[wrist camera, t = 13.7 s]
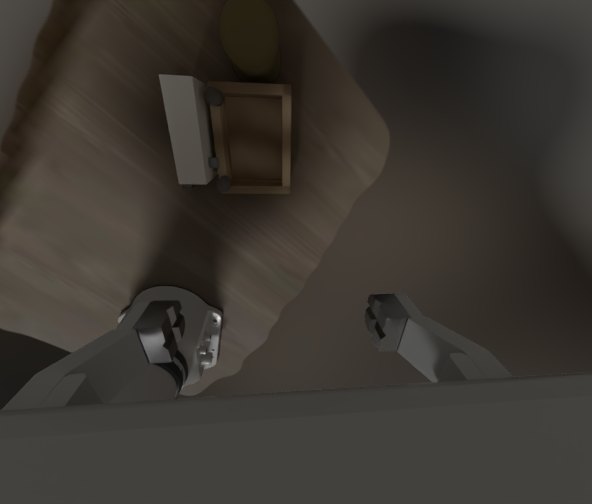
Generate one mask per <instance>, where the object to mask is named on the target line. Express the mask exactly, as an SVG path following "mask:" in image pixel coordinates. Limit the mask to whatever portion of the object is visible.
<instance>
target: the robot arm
mask: <svg viewBox="0 0 592 504" xmlns="http://www.w3.org/2000/svg"><path fill="white" fill-rule="evenodd" d="M368 304H369V307H368V308H367V309H366V312H365V323H366V326H367V329H368V331H370V332H371V333H372V334H373V337H372V340H373V342H374V344H375V346H376V348H377V350H378V351H398V353H399V354H401V355H402V356H403V357H404V358H405V359H407V360H408V361H409V362H410V363H411V364H412V365H413V366H414V367H416V368H417V369H418V370H419V371H420V372H421V373H423V374H424V375H425V376H426V377H427V378H429V379H430V380H431V381H432V382H429V383H414V384H398V385H382V386H367V387H352V388H336V389H321V390H306V391H291V392H276V393H260V394H246V395H245V394H244V395H229V396H214V397H199V398H184V399H178V398H175V397H176V396H177V395H178V393H179V392H180V390H181V389H182V388H183V386H187V385H190V384H193V383H195V382H197V381H198V380H199V379H200V378H201V376H202V373H203V370H204V369H207V368H210V367H212V366H214V365H216V363H217V360H218V353H219V344H220V335H221V326H222V316H223V314H222V312H221V311H220V310H218V309H216V308H214V307H211V306H209V305H207V304H206V303H205V302H204V301H203V300H202V299H201V298H199V297H198V296H197V295H195V294H193V293H192V292H190V291H187V290H185V289H182V288H178V287H173V286H157V287H152V288H149V289H147V290H144V291H143V292H141V293H140V294H139V295H137V297H136V298H135V299H134V301H133V303H132V305H131V306H130V308H129V309H127V310H125V311H124V312H122V313H121V314H120V316H119V318H118V322H119V325H118V326H117V328H116V330H111V331H109V332H108V333H106V334H104V335H103V336H101V337H99V338H97V339H96V340H94V341H92V342H91V343H89V344H87V345H85V346H84V347H82V348H80V349H78V350H77V351H75V352H73V353H72V354H70V355H68V356H66V357H65V358H63V359H61V360H60V361H58V362H56V363H54V364H53V365H51V366H49V367H48V368H46V369H44V370H42V371H41V372H39V373H37V374H35V375H34V377H32V378H31V380H30V381H29V382H28V383H27V384H26V385H25V386H24V387H23V388H22V389H21V390H20V391H19V392H18V393H17V394H16V395H15V396H14V397H13V398H12V399H11V401H10V402H9V403H8V404H7V405H6V406H5V407H4V408H3V409H2V410H0V504H592V372H583V373H567V374H552V375H537V376H521V377H513V376H512V375H511V374H510V373H509V372H508V371H507V370H506V369H505V368H504V367H503V366H502V365H501V364H500V363H499V362H498V361H497V359H496V358H495V357H494V356H493V355H492V354H491V353H490V352H489V351H488V350H486V349H484V348H483V347H481V346H479V345H477V344H475V343H474V342H472V341H470V340H468V339H466V338H464V337H462V336H460V335H459V334H457V333H455V332H453V331H451V330H450V329H448V328H446V327H444V326H442V325H440V324H438V323H437V322H435V321H433V320H431V319H429V318H428V317H423V316H422V314H421V313H420V312H419V311H418V309H417V308H416V307H415V306H414V304H413V303H412V302H411V300H410V299H409V298H408V297H407V295H406V294H404V293H392V294H371V295H370V296H369V297H368Z"/></svg>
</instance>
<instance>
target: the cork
mask: <svg viewBox="0 0 592 504" xmlns="http://www.w3.org/2000/svg"><path fill="white" fill-rule="evenodd" d="M219 33H220V39H221V43H222V45H223V47H224V50H225V52H226V54H227V55H228V56H229V58H230V59H231V60H232V66H233V68H234V70H235V73H236V75H237V76H238V77H239V79H240V80H241V81H242V82H243V83H266V84H271V83H272V82H273V81H274V80H275V79H276V77H277V75H278V73H279V71H280V66H281V55H280V50H279V47H278V44H279V26H278V23H277V20H276V17H275V14H274V12H273V11H272V9H271V7H270V6H269V4H268V3H267V2H266V1H265V0H228V1H227V2H226V3H225V4H224V7H223V9H222V12H221V14H220V22H219Z"/></svg>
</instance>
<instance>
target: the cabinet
mask: <svg viewBox="0 0 592 504" xmlns="http://www.w3.org/2000/svg"><path fill="white" fill-rule="evenodd" d="M207 86H208V88H207V89H206V90H205V92H204V97H205V100H206V101H207V102H208V103H209V104H210V111H211V119H212V127H213V135H214V144H215V152H216V157H218V159H219V168H217V169H218V177H219V179H218V180H217V182H216V188H217V189H218V190H219V191H220V194H290V163H291V92H292V85H289V84H266V83H243V82H219V81H207ZM195 185H197V184H183V188H193V187H194V186H195Z"/></svg>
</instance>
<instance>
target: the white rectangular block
mask: <svg viewBox="0 0 592 504" xmlns="http://www.w3.org/2000/svg"><path fill="white" fill-rule="evenodd" d="M159 80H160V85H161V90H162V96H163V101H164V106H165V112H166V117H167V123H168V128H169V133H170V139H171V144H172V149H173V155H174V160H175V166H176V171H177V176H178V182H179V184H203V185H207V184H208V183H209V182H210V181H211V180H212V179H213V178H214V177H215V176H217V175H218V169H217V168H219V159H218V157H216V152H215V144H214V135H213V127H212V119H211V111H210V104H209V103H208V102H207V101H206V100H205V97H204V92H205V90H206V89H207V88H208V86H207V85H206V84H205V83H203V82H201V81H199V80H198V79H196V78H194V77H193V76H180V75H162V74H159Z"/></svg>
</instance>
